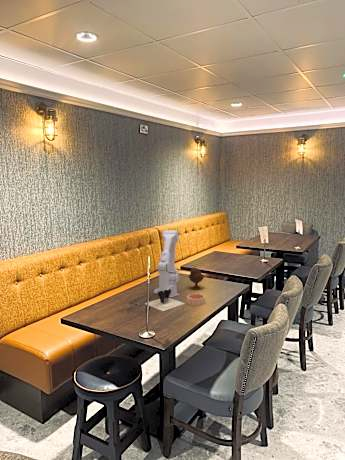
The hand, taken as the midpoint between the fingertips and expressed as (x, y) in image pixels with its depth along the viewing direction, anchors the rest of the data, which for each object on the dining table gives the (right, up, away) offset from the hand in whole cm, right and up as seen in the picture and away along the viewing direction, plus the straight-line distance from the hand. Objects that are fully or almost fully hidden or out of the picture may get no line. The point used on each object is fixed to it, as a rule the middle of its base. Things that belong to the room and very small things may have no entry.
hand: (164, 301), depth 228 cm
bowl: (+20, -1, +1) cm, 20 cm away
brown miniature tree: (+22, +3, +31) cm, 38 cm away
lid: (0, -1, 0) cm, 1 cm away
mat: (0, -2, 0) cm, 2 cm away
